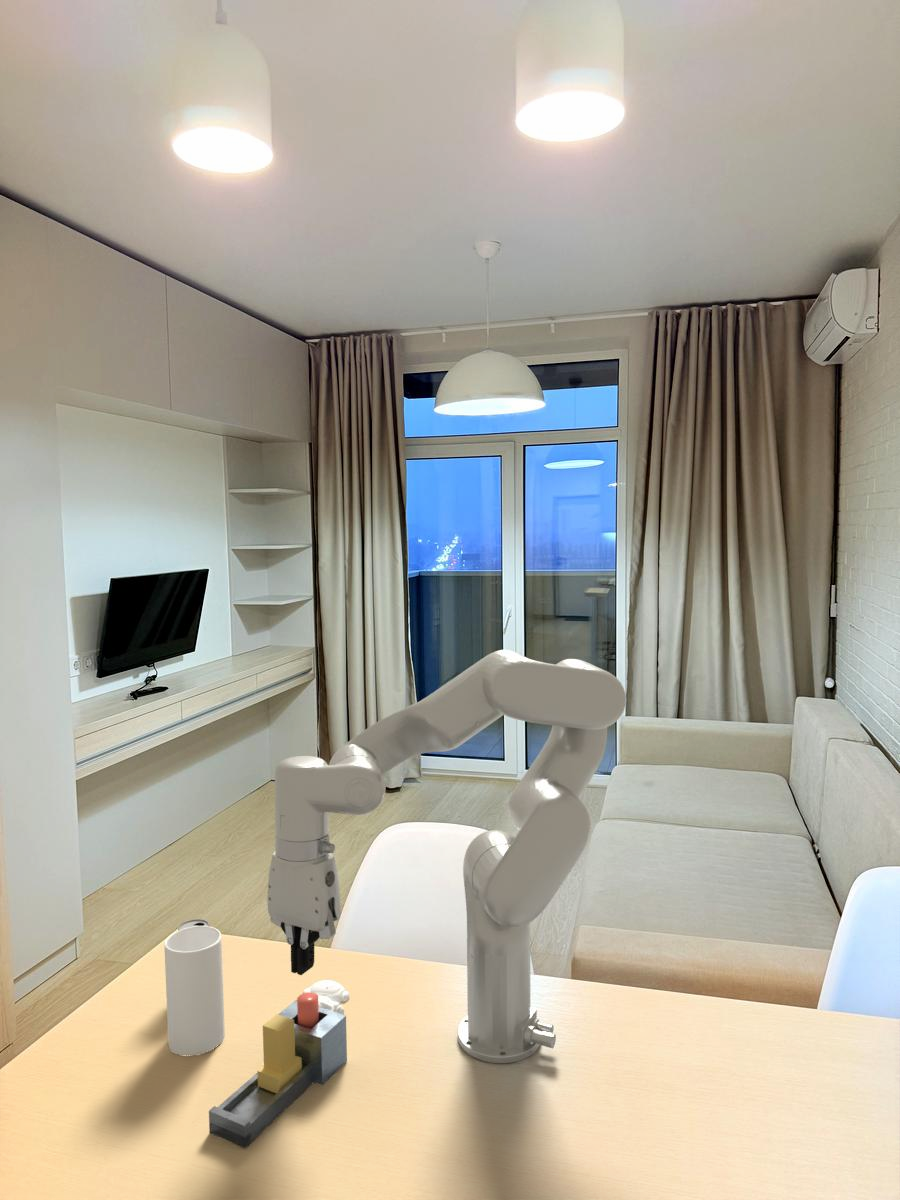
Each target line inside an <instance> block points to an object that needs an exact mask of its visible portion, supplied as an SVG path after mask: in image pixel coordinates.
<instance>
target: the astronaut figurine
mask: <svg viewBox="0 0 900 1200" xmlns="http://www.w3.org/2000/svg"><path fill="white" fill-rule="evenodd" d="M304 993H315V994H317V995H318V1006H319V1007H321V1008H324V1009H327V1010H330V1011H333V1012H337V1013H340V1014H343V1015H344V1013H345V1009H344V1007H343V1005H342V1004H341V1003H345V1002H347V1001H348V1000H350V993H349V991H348V990H346V989H345V987H344V986H343V985H342V984H341V983H339V982H338V981H337V982H336V981H334V980H330V979H329V980H328V979H324V980H319V981H315V982H314V983H313V984H312V985H310V987H307V988H305V989H304V990H303V991H302V994H304Z"/></svg>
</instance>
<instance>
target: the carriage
mask: <svg viewBox="0 0 900 1200" xmlns="http://www.w3.org/2000/svg"><path fill="white" fill-rule="evenodd" d="M278 1014H279V1013H277V1014H275V1015H274V1016H273V1017H271V1018H270V1019H269V1020H268V1021H266V1022H265V1023H264V1024H263V1025H262V1043H263V1046H262V1048H263V1066H262V1067H260V1068H259V1069H258V1070H257V1072H256V1073H258V1086H259V1087H261V1088H264V1089H266V1090H269V1091H271V1092H274V1093H278V1092H279V1091H280V1090H281V1089H282V1088H283V1087H284V1086H285V1085H286V1084H288V1083H289V1082H290V1081H291V1080H292V1079H293V1078H294V1077H295V1076H296V1075H297V1074H298V1073H299V1072H300V1071H302V1058H301V1057H298V1056H295V1034H294V1020H293V1019H290V1018H287V1017H284V1016H281V1015H278Z"/></svg>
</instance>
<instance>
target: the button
mask: <svg viewBox="0 0 900 1200" xmlns="http://www.w3.org/2000/svg"><path fill="white" fill-rule="evenodd" d="M296 998H297V999H296V1000H297V1012H298V1025H300V1026H303V1027H306V1028H309V1029H312V1028H313V1027H314V1026H315V1025H316V1024H318V1023H319V1006H318V995H317V994H315V993H304V994H303V993H301V994H300V995H299V996H298V997H296Z"/></svg>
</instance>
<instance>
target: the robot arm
mask: <svg viewBox="0 0 900 1200" xmlns="http://www.w3.org/2000/svg"><path fill="white" fill-rule="evenodd" d="M625 691H626V690H625V688H624V686H623V683H622V682H621V681H620V680H619V679H618V678H617V677H616V676H615V675H614V674H612V673H611V672H610V671H608V670H604V669H602V668H600V667H599V666H596V665H594V664H592V663H590V662H587V661H585V660H581V659H576V658H566V659H563V660H561V661H559V662H558V663H556V664H554V663H547V662H544V661H540V660H539V661H538V660H535V659H530V658H528V657H526V656H525V655H523V654H521V653H518V652H516V651H514V650H510V649H500V650H496V651H494V652H493V651H492V652H491V653H489V654H487V655H486V656H484V657H483V658H481V659H479V660H478V661H476V662H475V663H474V664H472V665H470V666H469V667H468V668H467V669H464V671H462V672H461V673H460V674H458V675H456V676H455V677H454V678H452V679H451V680H449V681H448V682H446V683H445V684H444V685H442V686H440V687H439V688H438V689H436V690H435V691H434V692H431V693H430V694H429V695H428V696H426V697H424V698H422V699H421V700H420V701H417V702H415V703H413V704H410V705H409V706H406V707H405V708H403V709H401V710H398V711H396V712H394V713H392V714H389V715H388V716H385V717H383V718H382V719H380V720H379V721H377V722H375V723H374V724H372V725H370V726H368V728H366V729H364V730H363V731H361V732H360V733H359V734H357V735H355V737H353V738H351V739H350V740H349V741H347V742H346V743H344V744H343V745H342V746H340V747H339V748H338V749H337V751H335V753H334V754H333V755H332V757H331V759H330V760H329V763H327V761H326V760H324V759H323V758H321V757H319V756H312V755H295V756H291V757H288V758H284V759H282V760H280V762H278V764H277V766H276V767H275V771H274V772H275V773H274V795H275V796H274V807H275V808H274V809H275V810H274V812H275V813H274V815H275V816H274V819H275V820H274V821H275V822H274V823H275V824H274V825H275V826H274V829H275V830H274V831H275V833H274V835H275V836H274V837H275V843H274V845H275V846H274V847H275V850H274V851H273V853H272V855H271V860H270V866H269V872H268V879H267V880H268V881H267V882H268V883H267V895H266V896H267V899H266V900H267V901H266V902H267V912H268V915H269V916H270V922H271V924H274V925H275V926H277V927H279V928H280V929H281V930H282V932H283V933H284V935H285V938H286V939H285V940H286V943H287V944H288V945H289V946H290V966H291V967H290V971H291V972H290V973H293V974H297V975H298V976H303V975H304V974H305V973H307V971H309V970H310V969H312V968H313V967H314V964H315V943H316V942H318V940H319V939H320V940H331V938H333V937H335V935H336V934H337V933H336V931H337V930H336V927H335V921H338V920H340V918H341V913H342V912H341V911H342V909H341V908H342V906H341V890H340V889H341V888H340V878H339V872H338V871H339V870H338V868H337V867H338V866H337V863H336V862H337V861H336V859H335V858H336V857H335V855H334V854H333V853H334V852H335V849H336V845H335V844H334V843H331V841H330V813H332V814H343V815H350V816H361V815H366V814H369V813H371V812H373V811H374V810H376V809H377V808H378V807H380V805H381V804H382V803H383V801H384V798H385V795H386V788H387V787H386V781H385V778H384V775H385V774H387V773H388V772H389V771H391V770H392V769H394V768H395V767H397V766H399V765H400V764H402V763H403V762H406V761H407V760H410V759H411V758H413V757H417V756H419V755H423V754H427V753H442V752H443V753H444V752H449V751H452V750H455V749H458V748H460V746H461V745H463V744H464V743H465V742H467V741H468V740H470V739H471V738H473V737H474V736H476V735H478V733H480V732H481V731H482V730H485V728H487V727H488V726H490V725H491V724H493V723H494V722H495V721H497V720H498V719H500V718H501V717H502V716H506V717H507V718H510V719H513V720H518V721H523V722H526V723H527V722H528V723H533V724H541V725H545V726H552V727H551V730H550V734H549V735H548V738H547V740H546V741H545V743H544V745H543V747H542V748H541V750H540V752H539V753H538V755H537V756H536V758H535V759H534V760H533V762H532V763H531V765H530V766H529V768H528V770H527V771H526V772H525V774H524V775H523V777H522V778H521V779H520V780H519V782H518V784H517V785H516V787H515V788H514V790H513V791H512V793H511V795H510V797H509V800H508V803H507V811H508V816H509V818H510V821H511V822H512V824H513V826H514V827H515V828H516V830H518V832H517V834H516V835H515V837H514V836H513V835H512V834H511V833H509V832H505V831H503V830H499V829H498V830H497V829H492V830H487V831H483V832H481V833H479V834H478V835H477V836H476V837H475V838H473V839H472V840H471V842H470V843H469V845H468V846H467V848H466V851H465V852H464V853H465V854H464V858H463V864H462V865H463V866H462V875H463V885H464V886H463V887H464V895H465V897H464V898H465V905H466V906H465V907H466V910H465V911H466V967H467V968H466V969H467V970H466V973H467V974H466V979H467V980H466V981H467V982H466V985H467V987H466V989H467V993H466V994H467V999H466V1000H467V1016H465V1017H464V1018H463V1019H462V1020H461V1022H459V1025H458V1027H457V1041H458V1043H459V1045H460V1047H461V1048H462V1049H463V1051H464V1052H466V1053H467V1054H468V1055H469V1056H471V1057H473V1058H474V1059H478V1060H480V1061H482V1062H483V1061H484V1062H487V1063H494V1064H506V1063H507V1064H509V1063H514V1062H518V1061H522V1060H524V1059H526V1058H528V1057H531V1055H532V1054H534V1053H535V1052H536V1051H537V1050H538V1048H539V1047H540V1046H543V1047H546V1048H550V1049H554V1047H555V1045H556V1041H557V1040H556V1039H557V1036H556V1034H555V1033H554V1030H555V1029H554V1025H553V1024H551V1023H547V1022H541V1021H540V1019H539V1018H537V1017H538V1016H537V1015H538V1013H537V1008H536V1007H532V1006H531V935H532V934H531V922H533V921H534V920H536V919H537V918H538V917H539V916H540V915H541V914H542V913H543V912H544V911H545V909H547V907H548V906H549V905H550V903H551V901H552V900H553V898H554V897H555V895H556V894H557V893H558V891H559V890H560V888H561V886H562V885H563V884H564V882H565V880H566V879H567V878H568V876H569V875H570V873H571V872H572V871H573V868H574V867H575V866H576V864H577V863H578V861H579V859H580V858H581V856H582V855H583V853H584V851H585V849H586V847H587V845H588V841H589V838H590V833H591V818H590V813H589V811H588V809H587V808H586V806H585V804H584V803H583V801H582V800H581V797H582V796H583V794H584V792H585V790H586V789H587V787H588V786H589V783H590V782H591V780H592V779H593V777H594V775H595V774H596V772H597V770H598V769H599V766H600V764H601V763H602V760H603V758H604V755H605V751H606V747H607V738H608V727H610V726H612V725H614V724H615V723H616V722H617V721H618V720H619V719H620V718H621V716H622V714H624V711H625V708H626V703H627V698H626V692H625Z"/></svg>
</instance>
